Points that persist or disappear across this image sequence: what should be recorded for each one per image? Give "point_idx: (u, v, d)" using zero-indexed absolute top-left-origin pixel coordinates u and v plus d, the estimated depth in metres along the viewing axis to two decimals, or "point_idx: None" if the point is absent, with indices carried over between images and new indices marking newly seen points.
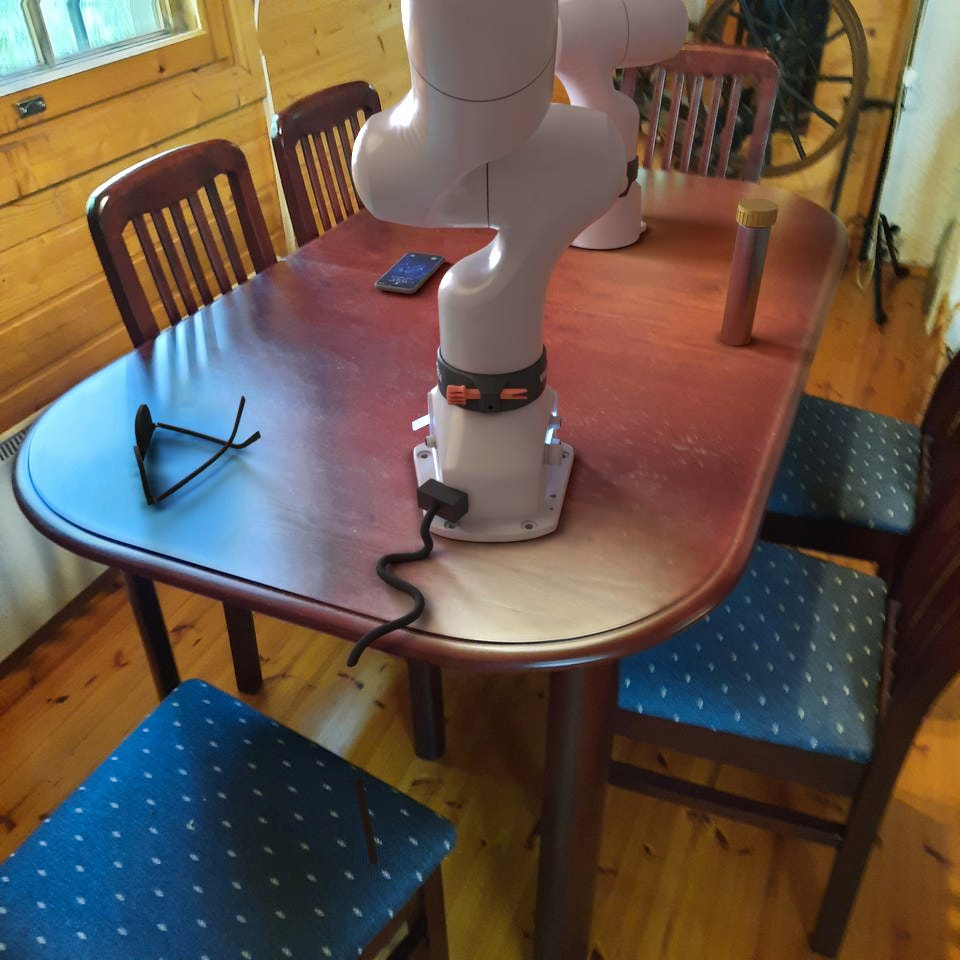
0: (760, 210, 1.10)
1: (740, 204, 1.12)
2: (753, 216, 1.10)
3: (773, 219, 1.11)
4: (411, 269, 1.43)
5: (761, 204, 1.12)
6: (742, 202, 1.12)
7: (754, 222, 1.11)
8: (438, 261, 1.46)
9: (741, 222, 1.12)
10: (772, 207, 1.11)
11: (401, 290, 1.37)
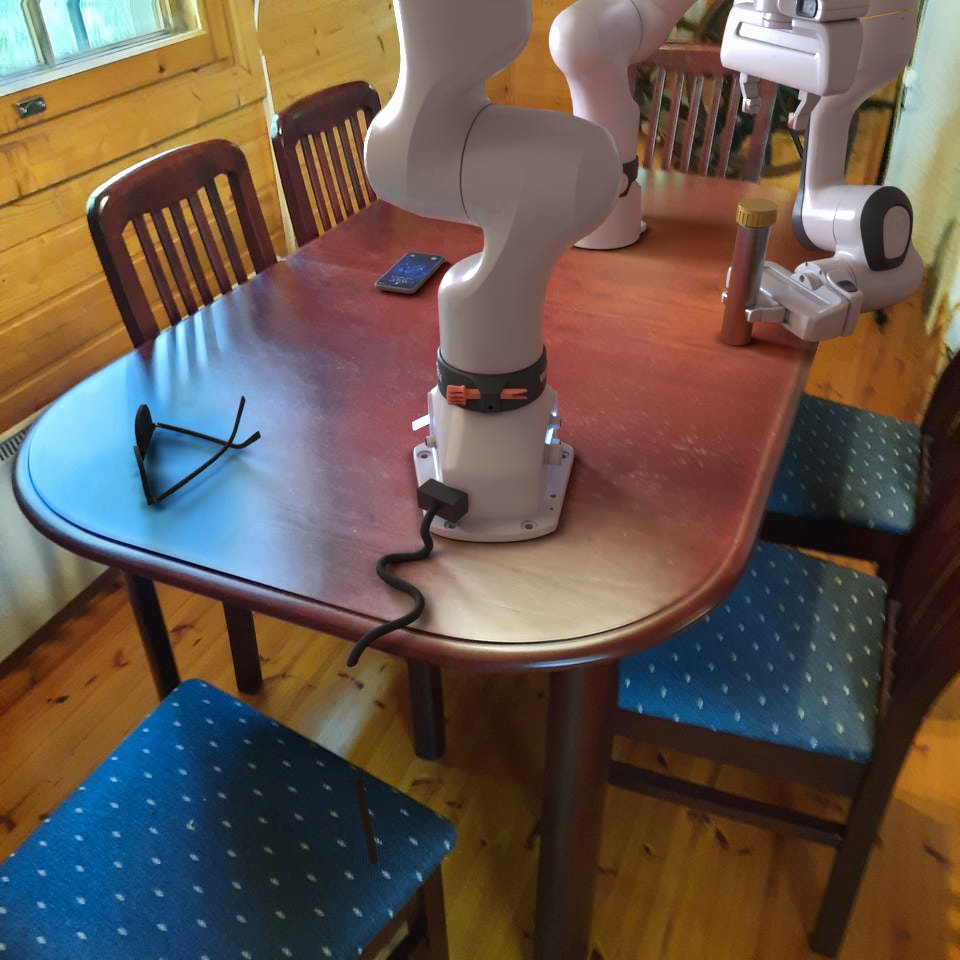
0: (760, 210, 1.10)
1: (740, 204, 1.12)
2: (753, 216, 1.10)
3: (773, 219, 1.11)
4: (411, 269, 1.43)
5: (761, 204, 1.12)
6: (742, 202, 1.12)
7: (754, 222, 1.11)
8: (438, 261, 1.46)
9: (741, 222, 1.12)
10: (772, 207, 1.11)
11: (401, 290, 1.37)
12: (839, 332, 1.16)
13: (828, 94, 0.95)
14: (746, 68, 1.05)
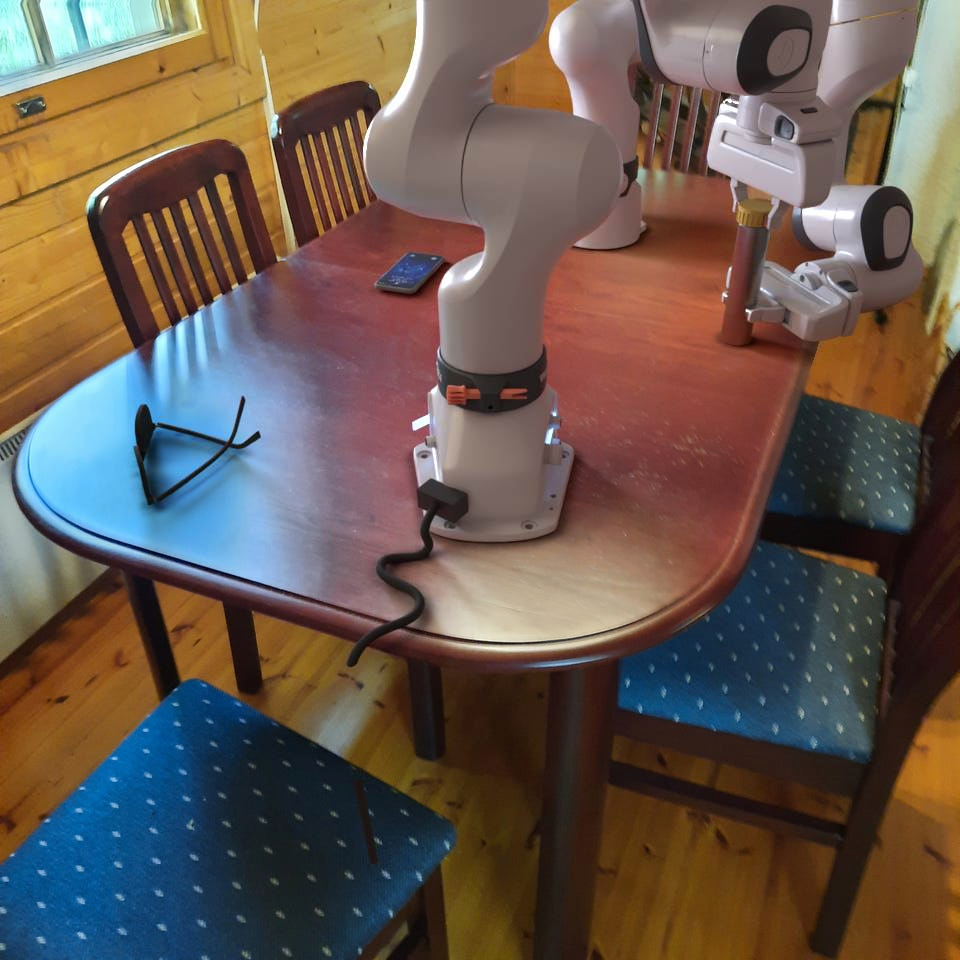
0: (760, 210, 1.10)
1: (740, 204, 1.12)
2: (753, 216, 1.10)
3: None
4: (411, 269, 1.43)
5: (761, 204, 1.12)
6: (742, 202, 1.12)
7: (754, 222, 1.11)
8: (438, 261, 1.46)
9: (741, 222, 1.12)
10: (772, 207, 1.11)
11: (401, 290, 1.37)
12: (839, 332, 1.16)
13: (805, 207, 1.02)
14: (730, 172, 1.12)
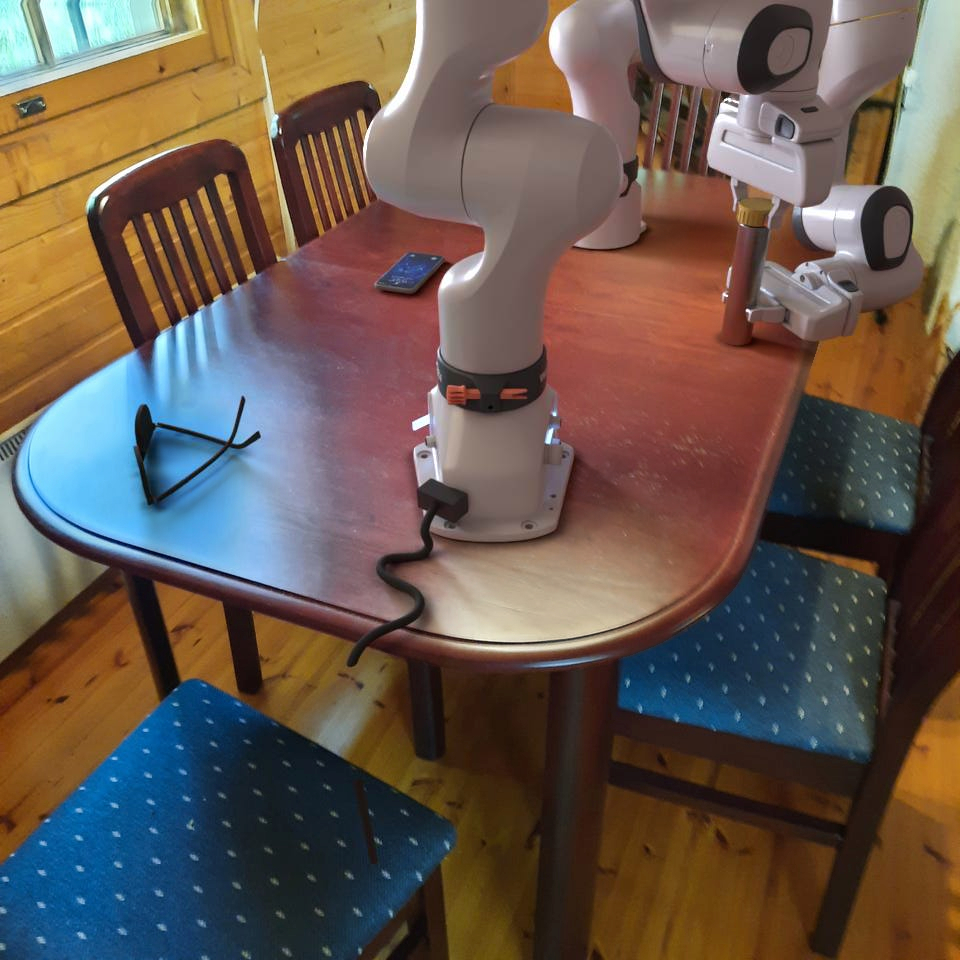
0: None
1: (757, 209, 1.10)
2: None
3: None
4: (411, 269, 1.43)
5: (758, 202, 1.12)
6: (751, 207, 1.10)
7: None
8: (438, 261, 1.46)
9: None
10: (767, 200, 1.12)
11: (401, 290, 1.37)
12: (840, 332, 1.16)
13: (805, 206, 1.02)
14: (731, 172, 1.12)
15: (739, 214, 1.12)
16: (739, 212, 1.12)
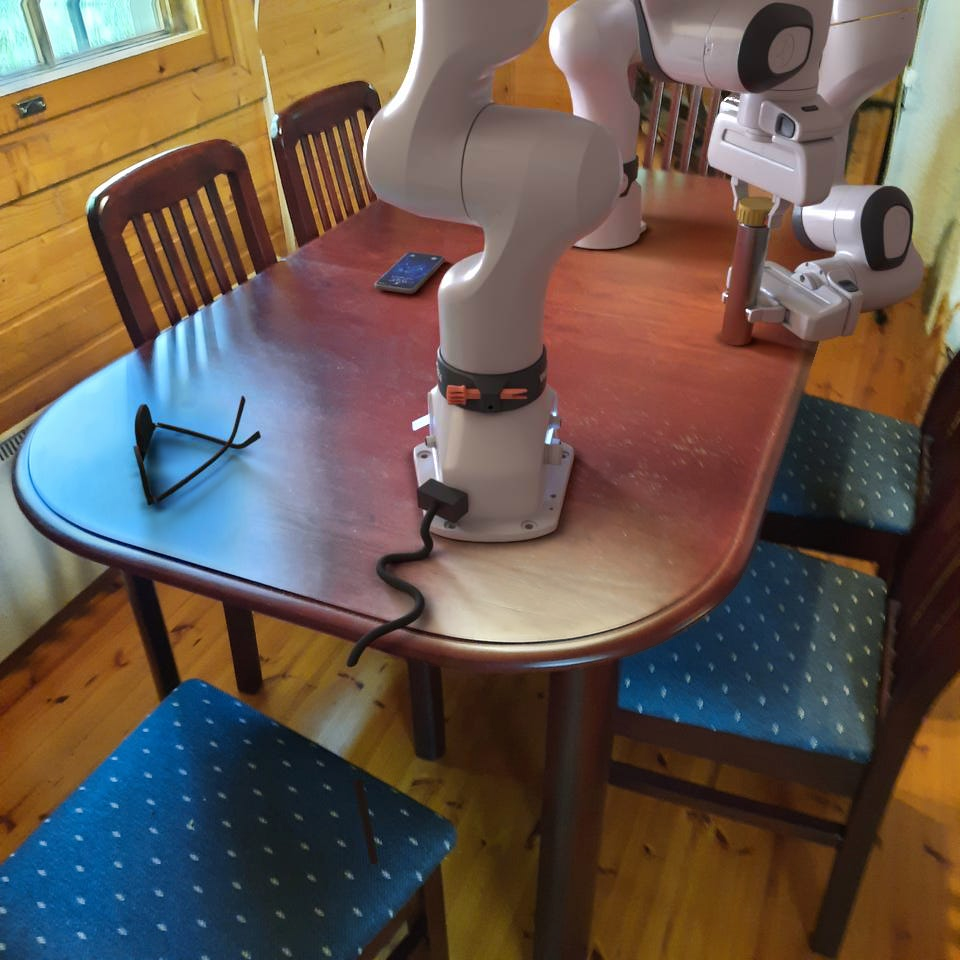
0: (765, 198, 1.13)
1: None
2: None
3: None
4: (411, 269, 1.43)
5: (755, 202, 1.11)
6: (770, 207, 1.10)
7: None
8: (438, 261, 1.46)
9: None
10: (749, 198, 1.13)
11: (401, 290, 1.37)
12: (839, 332, 1.16)
13: (806, 205, 1.02)
14: (731, 171, 1.12)
15: (760, 219, 1.10)
16: (761, 216, 1.10)
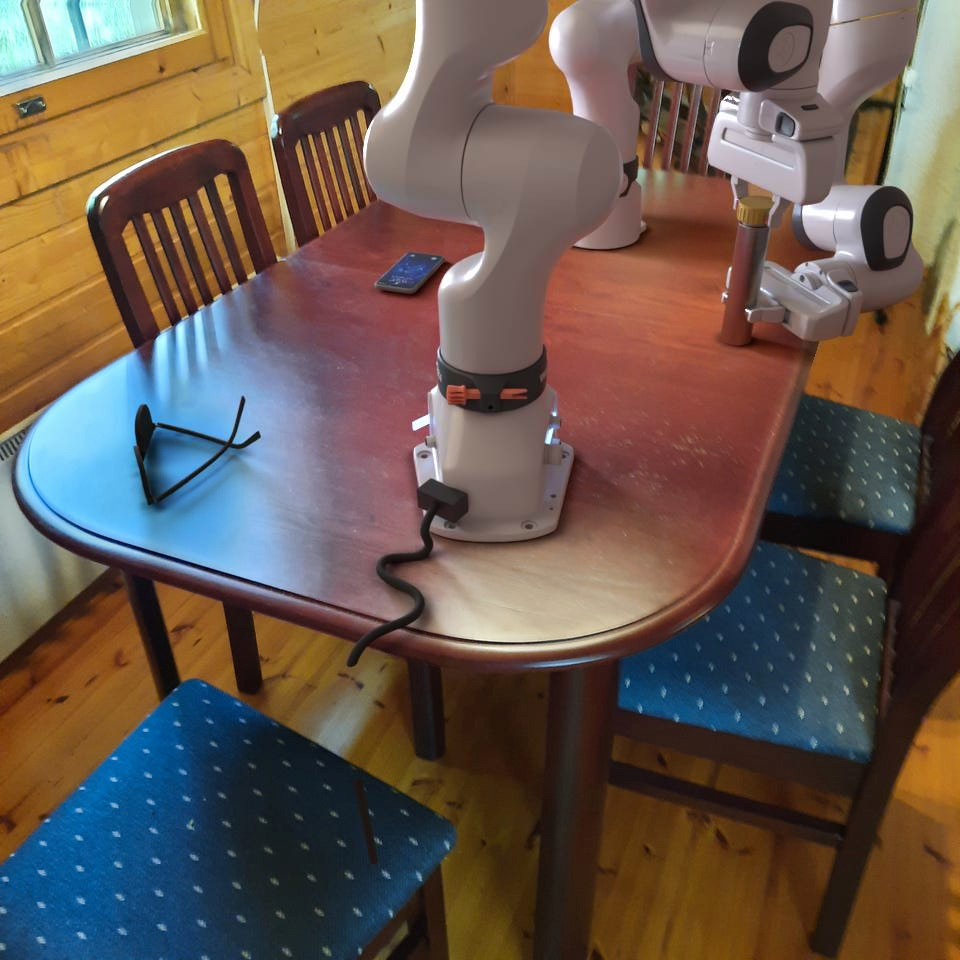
0: (745, 198, 1.13)
1: (769, 197, 1.12)
2: None
3: (738, 212, 1.12)
4: (411, 269, 1.43)
5: (757, 202, 1.11)
6: None
7: None
8: (438, 261, 1.46)
9: None
10: (745, 203, 1.11)
11: (401, 290, 1.37)
12: (839, 332, 1.16)
13: (806, 204, 1.02)
14: (731, 170, 1.12)
15: None
16: None
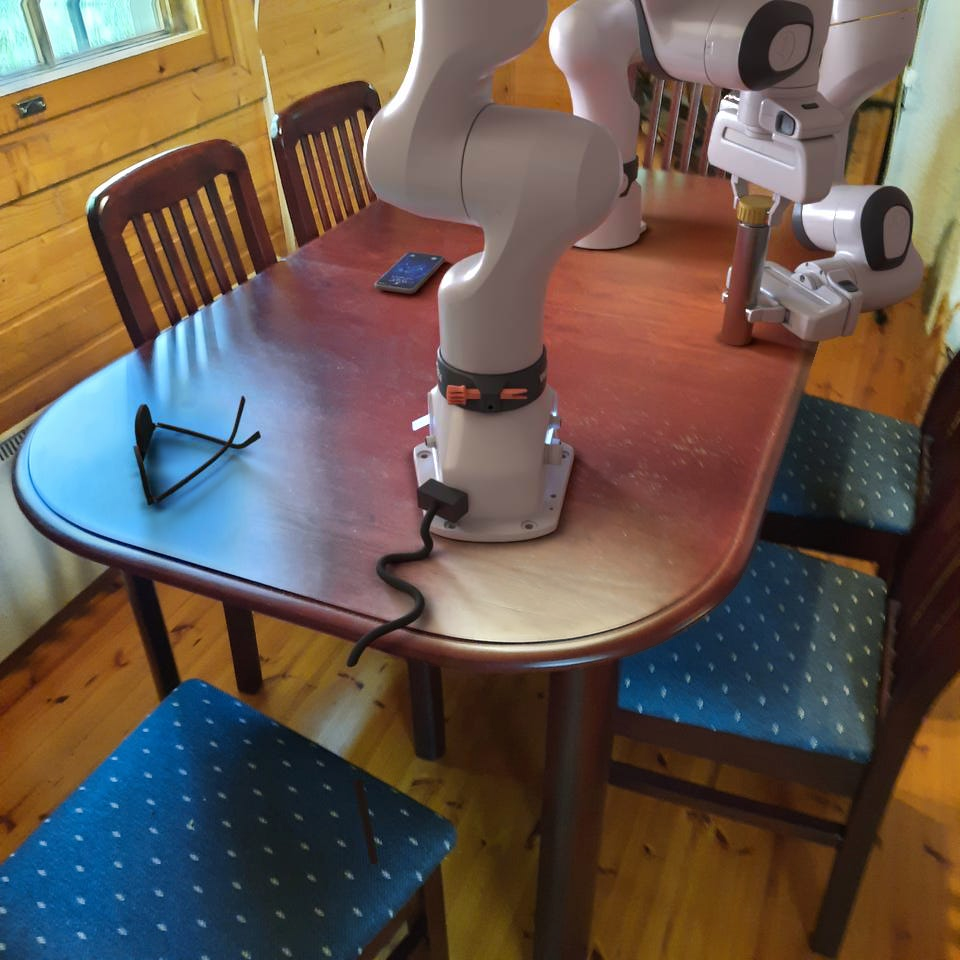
0: (745, 203, 1.11)
1: (747, 195, 1.13)
2: (739, 207, 1.11)
3: (757, 217, 1.10)
4: (411, 269, 1.43)
5: (762, 201, 1.11)
6: (754, 195, 1.13)
7: (740, 213, 1.12)
8: (438, 261, 1.46)
9: None
10: (762, 205, 1.10)
11: (401, 290, 1.37)
12: (839, 332, 1.16)
13: (806, 203, 1.02)
14: (731, 169, 1.12)
15: None
16: None
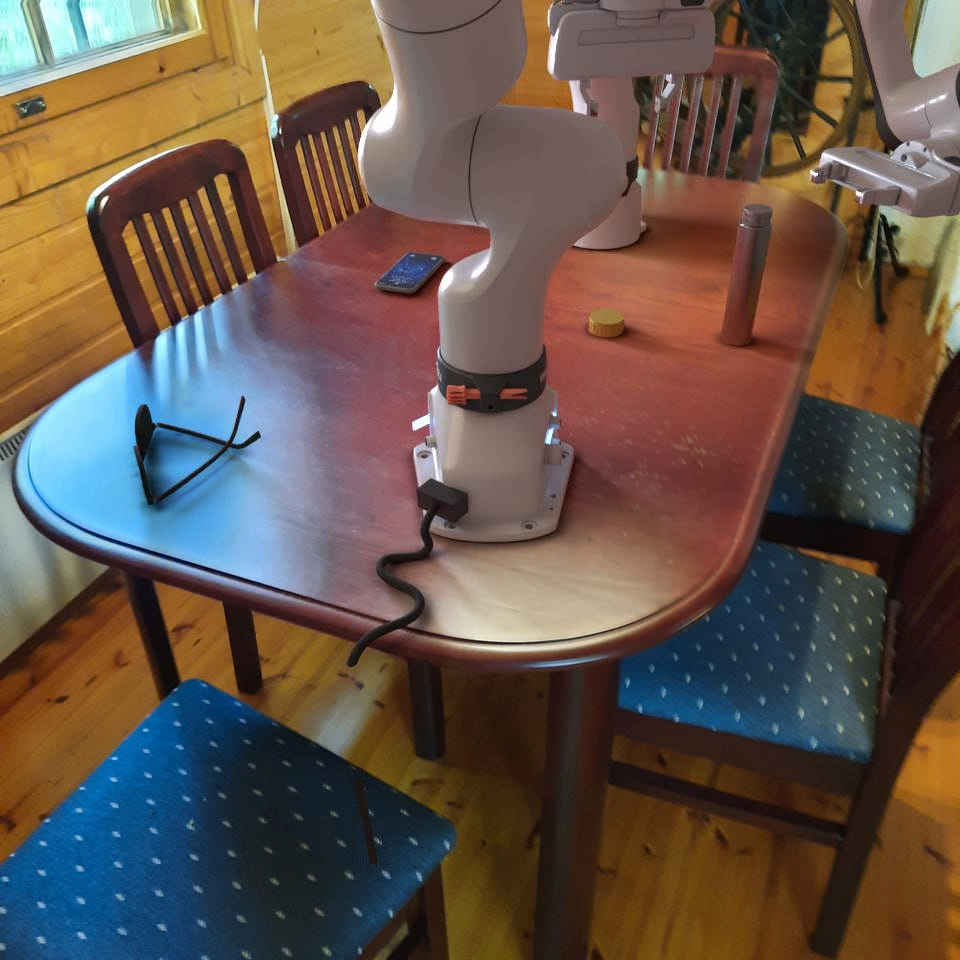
0: (621, 316, 1.25)
1: (608, 323, 1.23)
2: (623, 323, 1.25)
3: None
4: (411, 269, 1.43)
5: (605, 315, 1.25)
6: (602, 322, 1.24)
7: (622, 327, 1.25)
8: (438, 261, 1.46)
9: (617, 334, 1.24)
10: (612, 311, 1.26)
11: (401, 290, 1.37)
12: (947, 209, 1.11)
13: (707, 69, 1.06)
14: (600, 73, 1.03)
15: (592, 328, 1.25)
16: (592, 326, 1.25)
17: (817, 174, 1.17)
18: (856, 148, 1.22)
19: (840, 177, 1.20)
